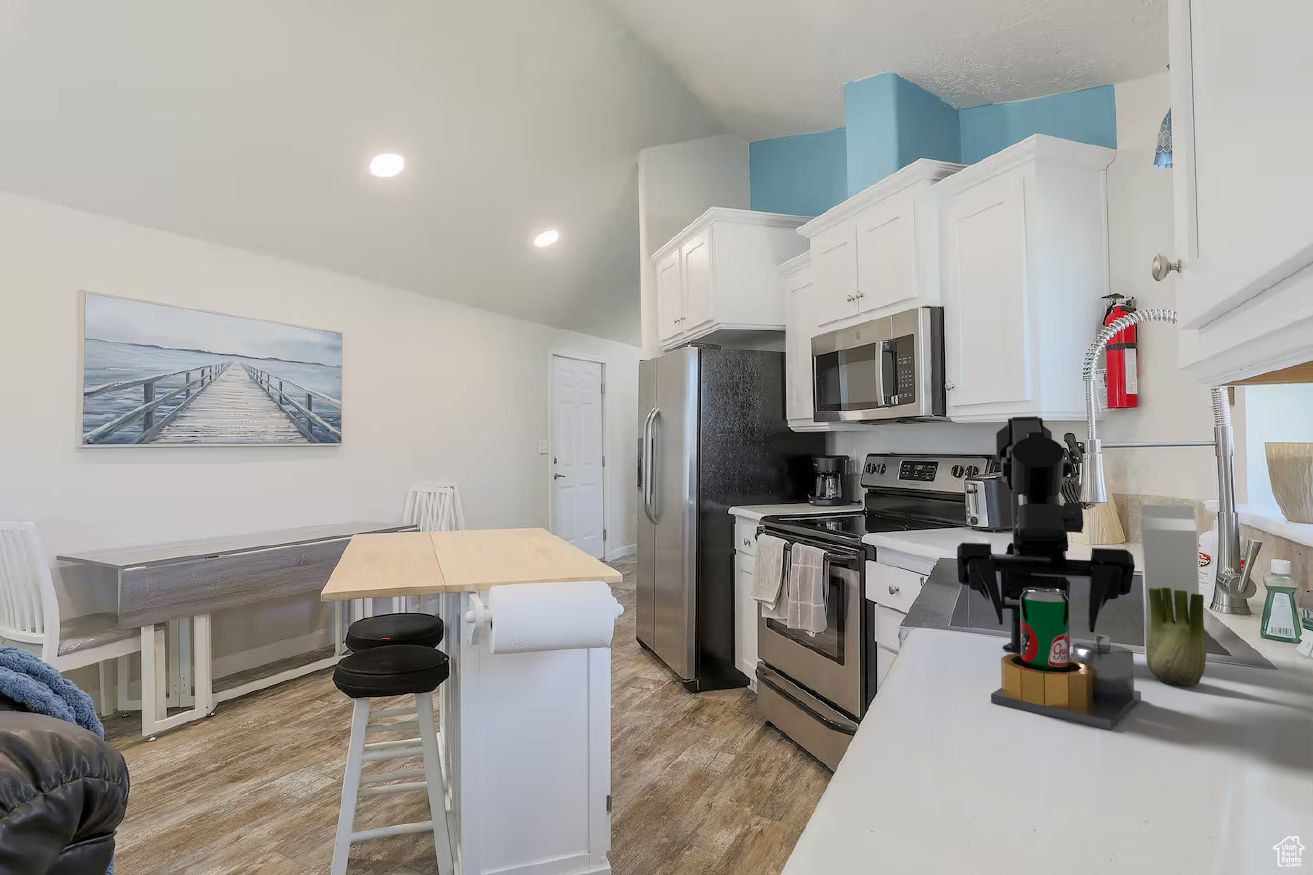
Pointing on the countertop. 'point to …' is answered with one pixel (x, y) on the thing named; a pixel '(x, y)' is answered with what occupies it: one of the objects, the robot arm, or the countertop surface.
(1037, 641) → the soda can
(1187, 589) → the milk
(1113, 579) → the robot arm
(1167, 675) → the fennel bulb
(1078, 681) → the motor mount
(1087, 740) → the countertop surface
